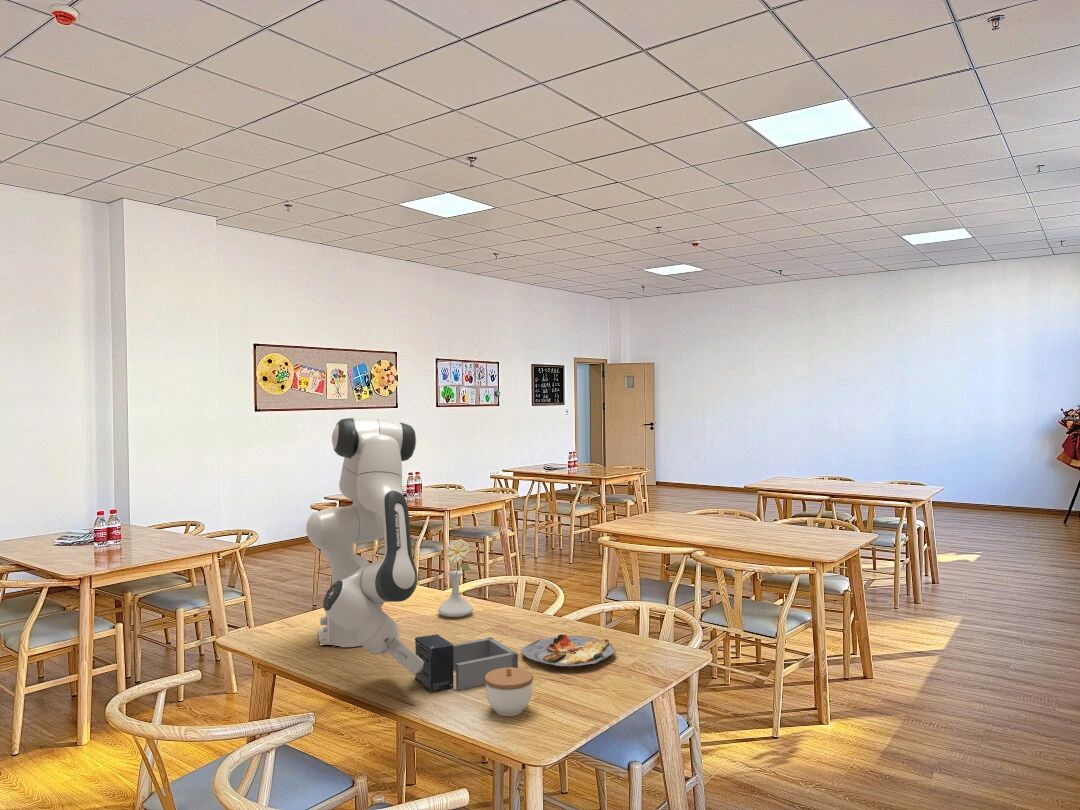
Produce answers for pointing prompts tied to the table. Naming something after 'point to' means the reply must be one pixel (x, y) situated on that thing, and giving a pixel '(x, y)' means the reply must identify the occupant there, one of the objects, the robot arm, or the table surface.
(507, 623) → the table surface
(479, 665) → the box
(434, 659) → the small box
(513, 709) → the lidded jar
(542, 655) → the food plate
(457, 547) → the flower in vase
